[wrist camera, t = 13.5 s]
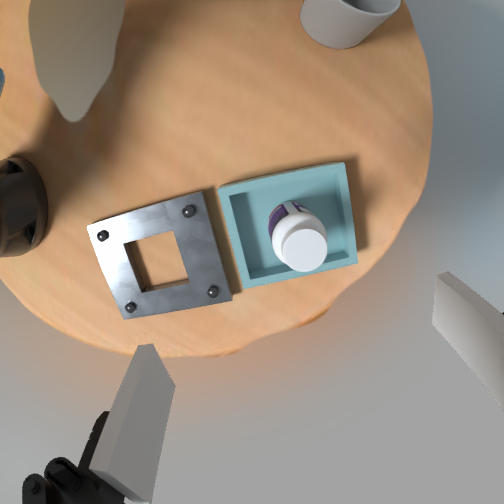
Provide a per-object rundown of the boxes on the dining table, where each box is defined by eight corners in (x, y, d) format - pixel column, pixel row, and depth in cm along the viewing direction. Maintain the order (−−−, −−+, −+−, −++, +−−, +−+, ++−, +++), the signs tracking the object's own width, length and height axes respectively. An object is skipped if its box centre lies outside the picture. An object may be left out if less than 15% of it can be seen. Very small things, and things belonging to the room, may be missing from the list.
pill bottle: (273, 250, 35) (282, 286, 26) (261, 207, 33) (267, 229, 24) (316, 238, 34) (340, 270, 25) (307, 195, 33) (329, 213, 23)
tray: (244, 278, 37) (243, 289, 34) (220, 185, 33) (217, 189, 30) (350, 254, 36) (357, 263, 33) (336, 161, 32) (344, 162, 29)
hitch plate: (127, 314, 39) (122, 321, 37) (92, 223, 34) (84, 227, 32) (232, 295, 38) (232, 302, 36) (203, 189, 33) (200, 192, 31)
